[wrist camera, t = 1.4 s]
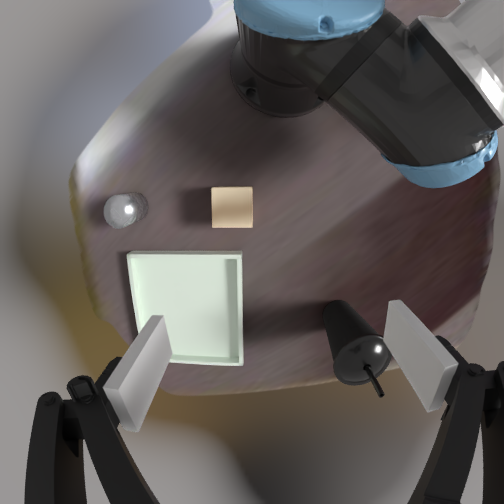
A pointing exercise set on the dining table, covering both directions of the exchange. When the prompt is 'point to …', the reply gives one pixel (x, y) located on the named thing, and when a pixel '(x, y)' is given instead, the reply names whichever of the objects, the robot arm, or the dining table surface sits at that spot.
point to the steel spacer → (125, 209)
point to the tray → (192, 302)
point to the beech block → (232, 207)
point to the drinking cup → (355, 346)
